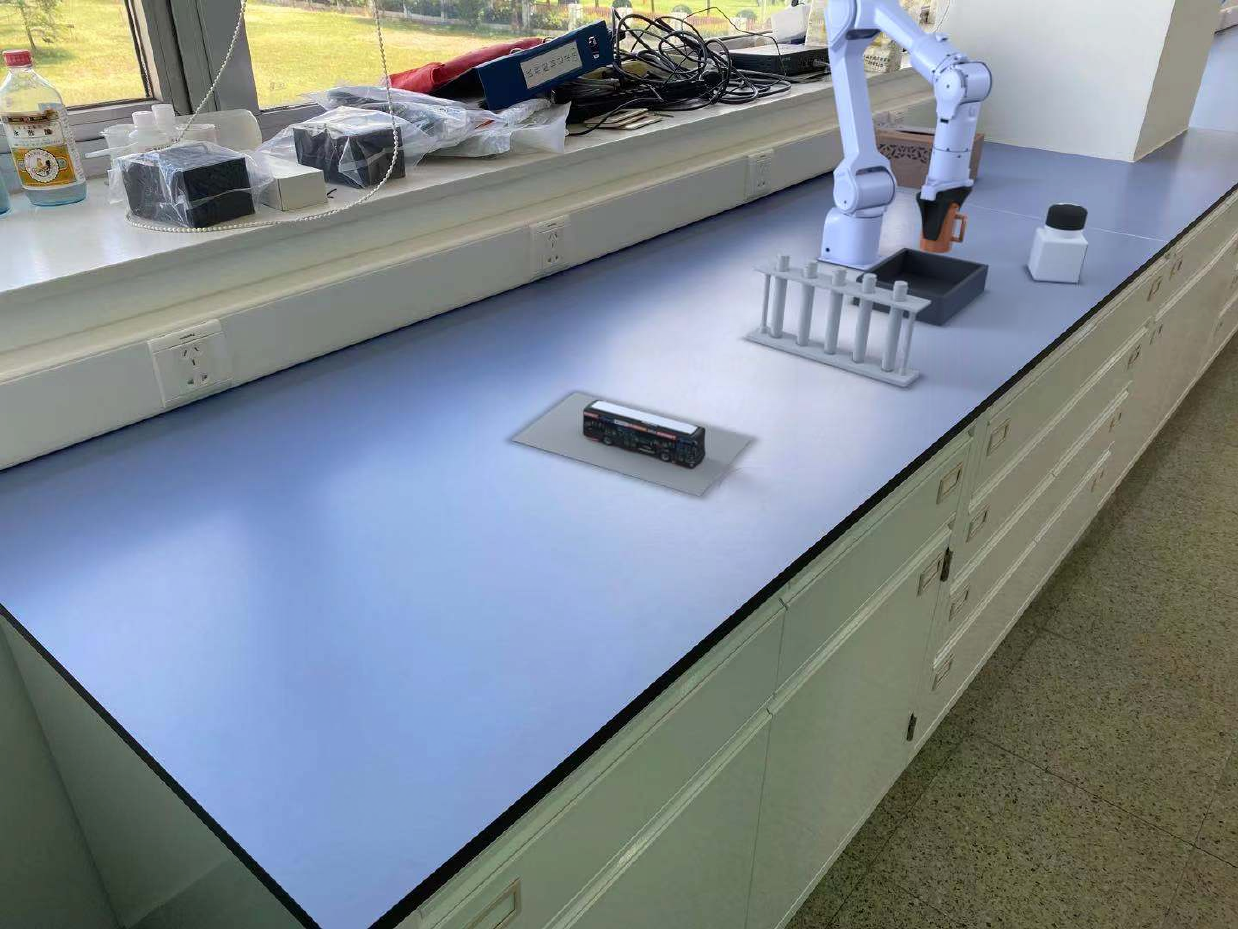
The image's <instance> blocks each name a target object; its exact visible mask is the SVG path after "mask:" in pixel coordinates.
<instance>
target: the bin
mask: <svg viewBox="0 0 1238 929" xmlns="http://www.w3.org/2000/svg"><path fill="white" fill-rule="evenodd" d="M989 267H990V265H989V264H985V263H981V262H975V261H972V260H971V261H970V260H966V259H962V258H961V259H960V258H956V257H952V256H948V255H947V256H946V255H941V254H939V253H932V252H927V251H924V250H918V249H914V248H909V247H903V248H901V249H899V250H898V251H896V252H895V253H893V254H891V255H889V256H888V257H887V258H885V260H883V261H882V262H880V263H878V264H877V265H875V266H874V267H872V268H870V269H869V270H865V272H863V273H861V274H860V275H857V277H855V282H859V283H863V280H862V279H863V278H864V274H866V273H871V274H875V275H876V279H877V281H876V285H875V287H879V288H883V289H887V290H891V291H893V289H894V288H893V286H894V285H895V282H896V281H904V282H907V283H908V285H907V286H908V289H907V294H906V295H910V296H914V297H918V298H922V299H926V300H930V301H931V304H929V305H928V306H926V307H925V308H923V309H922V310H920V311H919V312H917V314H916V316H915V321H918V322H922V323H926V324H930V325H933V326H934V325H935V326H938V327H941V326H943V325H944V324H945V323H946V322H948V321H949V320H950V319H952V318H953V317H954V316H955V315H956V314H958V313H959V312H960V311H962V309H964V308H966V306H968V305H969V304H970V303H971V302H972V301H974V300H975V299H977V297H979V296H980V295H981V294H982V293H983V292H984V290H985V286H986V282H987V276H988V272H989ZM859 304H860V298H857V297H854V296H853V299H852V305H854V306H858V307H859ZM890 308H891V306H888V305H884V304H881V303H877V302H873V306H872V310H875V311H878V312H882V313H886V314H890ZM909 314H910V313H909V311H907V310H904V312H903V318H907V319H909Z"/></svg>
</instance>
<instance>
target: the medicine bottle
mask: <svg viewBox="0 0 1238 929" xmlns="http://www.w3.org/2000/svg"><path fill="white" fill-rule="evenodd" d="M1088 213H1089V212H1088V210H1087V209H1086V208H1085V207H1083V206H1081V205H1079V204H1076V203H1071V202H1070V203H1069V202H1059V203H1055V204H1052V205H1051V206H1049V208H1048V211H1047V214H1046V219H1045V223H1044V226H1043V227H1037V228H1036V229H1035V233H1034V237H1033V241H1032V246H1031V249H1030V250H1031V251H1030V255H1029V258H1028V259H1029V260H1028V264H1027V268H1028V270H1029V272H1030V275H1031V276H1032V278H1033V280H1034V281H1037V282H1051V283H1065V284H1066V283H1067V284H1078V283H1079V281H1080V277H1081V273H1082V270H1083V266H1084V261H1085V258H1086V254H1087V251H1088V247H1089V242H1088V241H1087V239H1086V238H1085V236H1084V235H1083V232H1084V230H1085V226H1086V222H1087V218H1088Z"/></svg>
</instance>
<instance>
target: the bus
mask: <svg viewBox="0 0 1238 929" xmlns="http://www.w3.org/2000/svg"><path fill="white" fill-rule="evenodd" d="M511 441H514V442H517V443H521V444H524V445H527V446H529V447H530V446H531V447H533V448H537V449H541V450H544V451H547V452H551V453H554V454H557V455H560V456H564V457H567V458H570V459H574V460H577V461H581V462H584V463H587V464H591V465H594V466H596V467H597V466H598V467H600V468H603V469H607V470H611V471H614V472H616V473H617V472H618V473H621V474H624V475H627V476H628V475H629V476H631V477H634V478H638V479H641V480H644V481H647V482H650V483H654V484H657V485H660V486H664V487H668V488H671V489H673V490H677V491H680V492H685V493H687V494H691V495H694V496H698V497H700V496H701V495H702V494H703V493H704V492H705V491H706V489H707V488H708V487H709V486H710V485H711V484H712V483H713V482H714V481H715V480H716V478H717V477H718V476H720V474H721V473H722V472H723V471H724V469H726V468H727V466H728V465H729V464H730V463H731V462H732V461H733V460H734V459H735V457H737V455H739V453H740V452H741V451H742V450H743V449H744V448H745V446H746V445H747V444H748V443H750V441H751V438H748V437H745V436H741V435H736V434H733V433H729V432H725V431H721V430H718V429H715V428H711V427H706V426H703V425H700V424H699V425H698V424H696V423H691V422H689V421H685V420H680V419H677V418H673V417H670V416H665V415H662V414H658V413H655V412H654V413H653V412H650V411H647V410H644V409H643V410H642V409H638V408H636V407H631V406H627V405H624V404H619V403H617V402H613V401H608V400H605V399H601V398H597V397H594V396H589V395H586V394H582V393H579V392H574V393H573V394H571V395H569V396H568V397H567V398H565V400H563V401H562V402H560V403H559V404H558V405H556V406H555V407H553V408H552V409H551V410H549V411H548V412H547V413H545V415H543V416H541V417H540V418H538V420H536V421H534V422H533V423H532V424H530V425H529V426H528V427H527V428H526V429H524V430H523V431H522V432H520V433H519V434H517V435H516V436H515V437H514V438H512V439H511Z"/></svg>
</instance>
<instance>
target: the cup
mask: <svg viewBox="0 0 1238 929" xmlns="http://www.w3.org/2000/svg"><path fill="white" fill-rule="evenodd" d="M958 211H959V205H958V204H956V203H954V202H953V204H952V205H951V207H950V209H949V210H948V212H947V214H946V217H945V219H944V222H943V225H942V229H941V232H940V235H939V237H938V239H937V240H936V241H932V240H927V239H923V231H922V226H921V228H920V232H919V233H920V234H919V240H918V244H917V246H918V248H919V249H920V250H921V251H923V252H928V253H933V254H945V253H949V252H951V251H952V249H953V243H954V242H955V243H959V244H962V243H963V242H964V238H965V232H966V227H967V222H968V216H967V215H964V214H959V213H958ZM959 212H960V211H959ZM958 220H960V221H961V224H960V229H959V234H958V237H957V236H955V234H956V233H955V232H956V227H957V222H958Z"/></svg>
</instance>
